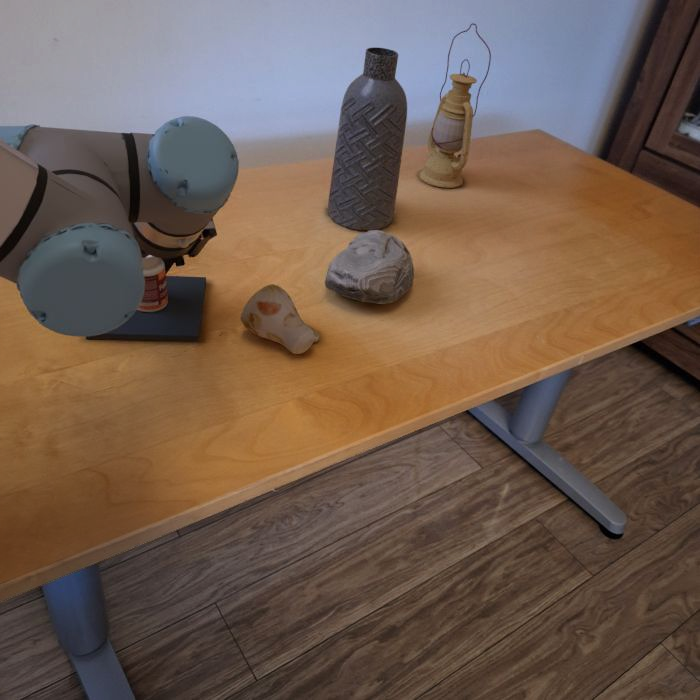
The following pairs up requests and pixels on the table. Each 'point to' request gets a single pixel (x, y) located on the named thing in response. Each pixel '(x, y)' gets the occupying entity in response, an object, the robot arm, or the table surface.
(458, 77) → the lantern
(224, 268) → the table surface
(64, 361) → the table surface
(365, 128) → the vase
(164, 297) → the pill bottle
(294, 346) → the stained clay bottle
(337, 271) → the decorative stone
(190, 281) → the mat
